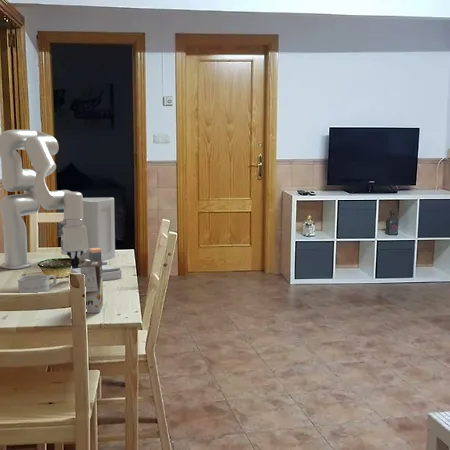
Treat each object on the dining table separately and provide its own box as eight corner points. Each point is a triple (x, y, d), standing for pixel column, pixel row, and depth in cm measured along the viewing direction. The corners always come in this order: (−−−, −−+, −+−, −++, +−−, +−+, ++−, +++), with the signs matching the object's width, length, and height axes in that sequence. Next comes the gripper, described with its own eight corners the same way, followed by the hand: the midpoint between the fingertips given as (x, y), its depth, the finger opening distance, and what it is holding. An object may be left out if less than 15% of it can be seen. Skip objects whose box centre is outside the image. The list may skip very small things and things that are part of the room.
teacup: (21, 303, 221) (20, 281, 220) (15, 296, 231) (15, 274, 229) (61, 299, 228) (60, 277, 226) (54, 292, 237) (53, 271, 236)
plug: (89, 269, 274) (88, 248, 273) (98, 268, 277) (97, 247, 275) (92, 271, 271) (92, 250, 270) (101, 270, 273) (101, 249, 272)
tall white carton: (73, 263, 286) (71, 202, 281) (74, 256, 300) (72, 198, 295) (116, 261, 290) (115, 201, 285) (114, 255, 304) (113, 197, 299)
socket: (69, 275, 263) (69, 265, 263) (105, 270, 272) (105, 261, 272) (84, 283, 250) (84, 273, 250) (121, 278, 259) (121, 268, 259)
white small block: (84, 268, 262) (84, 259, 261) (99, 266, 265) (99, 257, 265) (91, 271, 256) (91, 262, 256) (106, 269, 260) (105, 261, 259)
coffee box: (100, 313, 212) (99, 266, 209) (81, 313, 211) (79, 266, 208) (103, 305, 221) (102, 260, 218) (84, 305, 220) (83, 260, 217)
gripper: (58, 225, 246) (60, 271, 248) (95, 222, 254) (95, 267, 257) (52, 223, 252) (53, 267, 255) (87, 220, 260) (88, 263, 263)
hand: (74, 267), depth 256 cm, fingers closed
